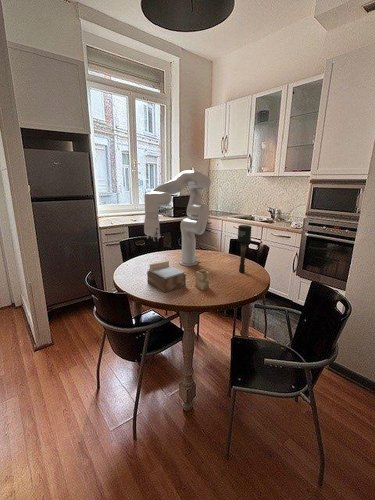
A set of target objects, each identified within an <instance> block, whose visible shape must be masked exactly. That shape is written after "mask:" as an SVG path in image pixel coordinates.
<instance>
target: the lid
mask: <svg viewBox="0 0 375 500" xmlns="http://www.w3.org/2000/svg"><path fill="white" fill-rule="evenodd" d="M147 271H150V272H152V273H154V274H156V275H158V276H160V277H162V278H164V279H168V278H172V277H175V276H179V275H182V274H185V271H183V270H182V269H178V268H176V267H173V266H171V265H170V261H169V260H168V259H166V260H161V261H157V262H153V263H149V268H148V270H147Z"/></svg>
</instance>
